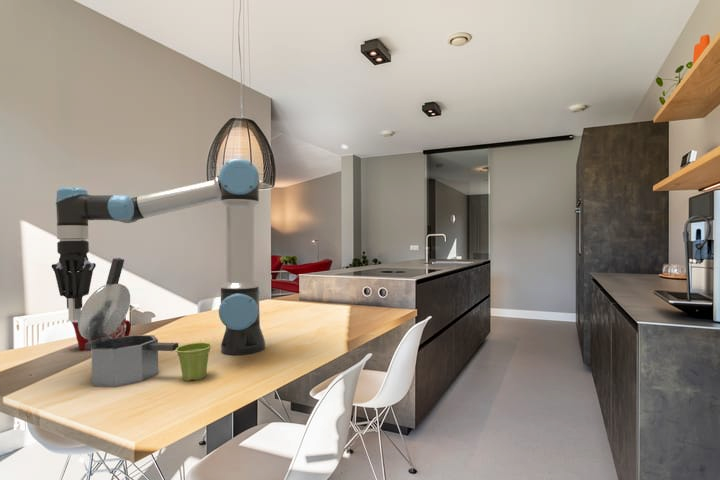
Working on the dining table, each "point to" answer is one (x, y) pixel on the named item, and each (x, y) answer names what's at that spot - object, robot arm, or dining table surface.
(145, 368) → the cooker pot
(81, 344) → the plastic cup
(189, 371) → the plant pot
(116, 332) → the mug
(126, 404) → the dining table surface
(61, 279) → the robot arm
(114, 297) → the lid
